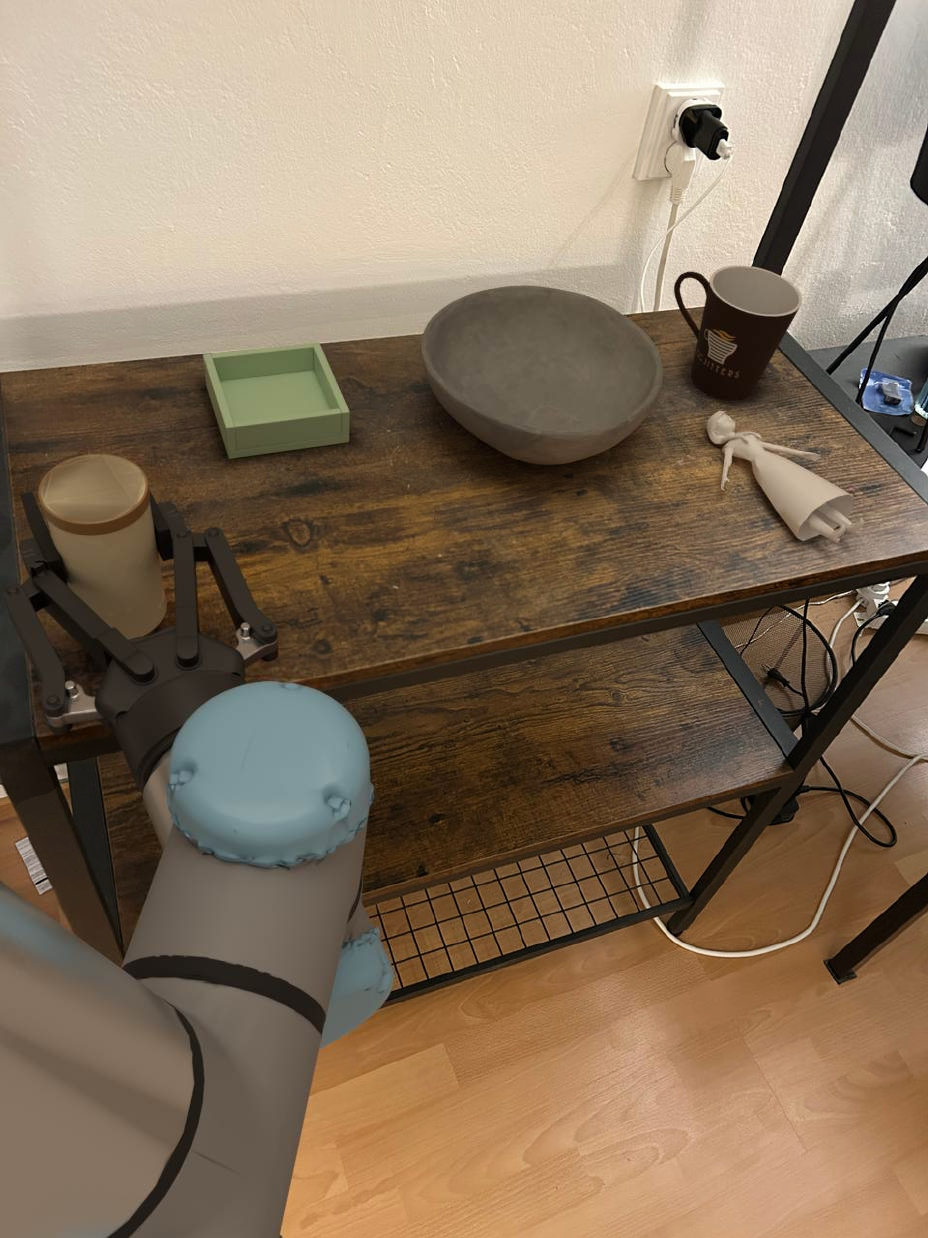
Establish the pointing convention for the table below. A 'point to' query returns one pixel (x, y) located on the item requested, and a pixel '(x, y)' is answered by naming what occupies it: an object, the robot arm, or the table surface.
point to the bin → (275, 399)
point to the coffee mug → (738, 327)
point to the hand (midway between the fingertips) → (83, 495)
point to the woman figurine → (787, 483)
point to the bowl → (541, 371)
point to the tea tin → (107, 539)
